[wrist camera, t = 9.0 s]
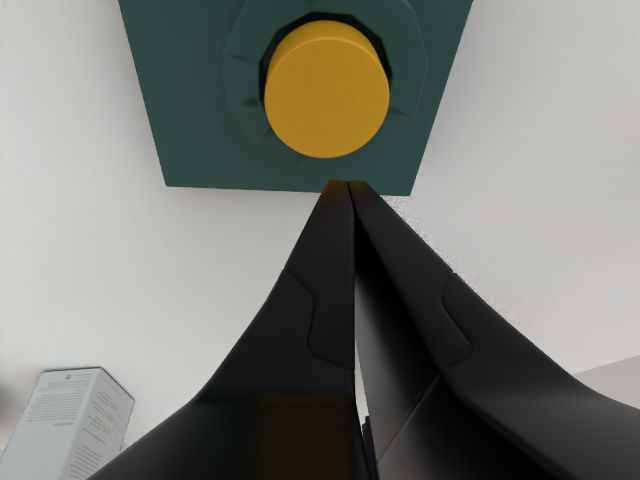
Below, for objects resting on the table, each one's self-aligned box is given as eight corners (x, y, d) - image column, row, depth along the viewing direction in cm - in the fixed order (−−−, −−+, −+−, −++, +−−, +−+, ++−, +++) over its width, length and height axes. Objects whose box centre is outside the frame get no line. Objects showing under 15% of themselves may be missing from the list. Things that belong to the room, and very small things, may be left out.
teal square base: (401, 172, 20) (418, 221, 18) (176, 161, 19) (155, 211, 16) (462, -42, 14) (505, -19, 11) (123, -77, 13) (73, -60, 10)
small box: (42, 369, 34) (-29, 508, 27) (102, 366, 34) (49, 504, 27) (84, 403, 40) (35, 526, 33) (136, 400, 40) (99, 522, 33)
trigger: (369, 137, 15) (376, 161, 13) (268, 131, 14) (265, 156, 13) (392, 24, 12) (403, 42, 11) (266, 14, 12) (262, 31, 10)
